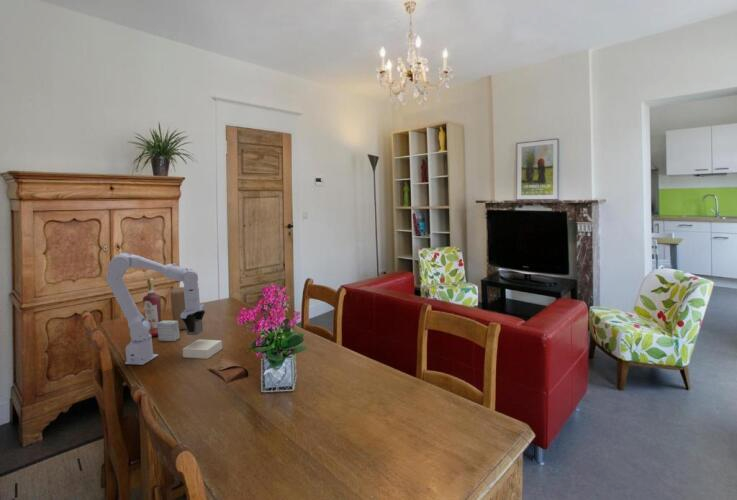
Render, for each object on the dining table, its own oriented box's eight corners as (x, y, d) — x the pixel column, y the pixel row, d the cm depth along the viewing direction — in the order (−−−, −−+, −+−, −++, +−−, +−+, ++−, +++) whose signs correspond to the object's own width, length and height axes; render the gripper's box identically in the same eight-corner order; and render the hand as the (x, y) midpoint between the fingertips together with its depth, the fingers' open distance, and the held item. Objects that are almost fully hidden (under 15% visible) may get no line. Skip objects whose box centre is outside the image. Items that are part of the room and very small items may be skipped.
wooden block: (174, 325, 202) (171, 287, 199) (195, 322, 206) (192, 285, 203) (173, 331, 193) (170, 292, 190) (195, 328, 197) (192, 289, 194)
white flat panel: (207, 359, 158) (207, 350, 158) (183, 358, 160) (182, 348, 160) (222, 349, 169) (221, 340, 169) (199, 348, 171) (198, 339, 170)
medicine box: (180, 338, 183) (178, 320, 182) (174, 341, 178) (172, 323, 177) (164, 337, 184) (162, 320, 183) (158, 341, 179) (156, 323, 178)
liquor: (167, 332, 191) (162, 276, 187) (157, 338, 184) (152, 279, 180) (153, 332, 192) (147, 276, 188) (143, 337, 184) (137, 279, 181)
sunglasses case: (204, 369, 148) (212, 352, 150) (220, 372, 153) (227, 356, 155) (227, 383, 136) (235, 365, 138) (243, 387, 141) (251, 369, 143)
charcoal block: (196, 335, 163) (195, 322, 162) (186, 334, 164) (185, 322, 163) (202, 331, 167) (201, 319, 167) (193, 331, 168) (192, 318, 167)
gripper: (190, 303, 156) (193, 336, 158) (210, 294, 170) (212, 324, 172) (174, 303, 157) (177, 335, 159) (195, 294, 171) (197, 324, 173)
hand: (194, 329), depth 165 cm, fingers closed on charcoal block, 4 cm apart
